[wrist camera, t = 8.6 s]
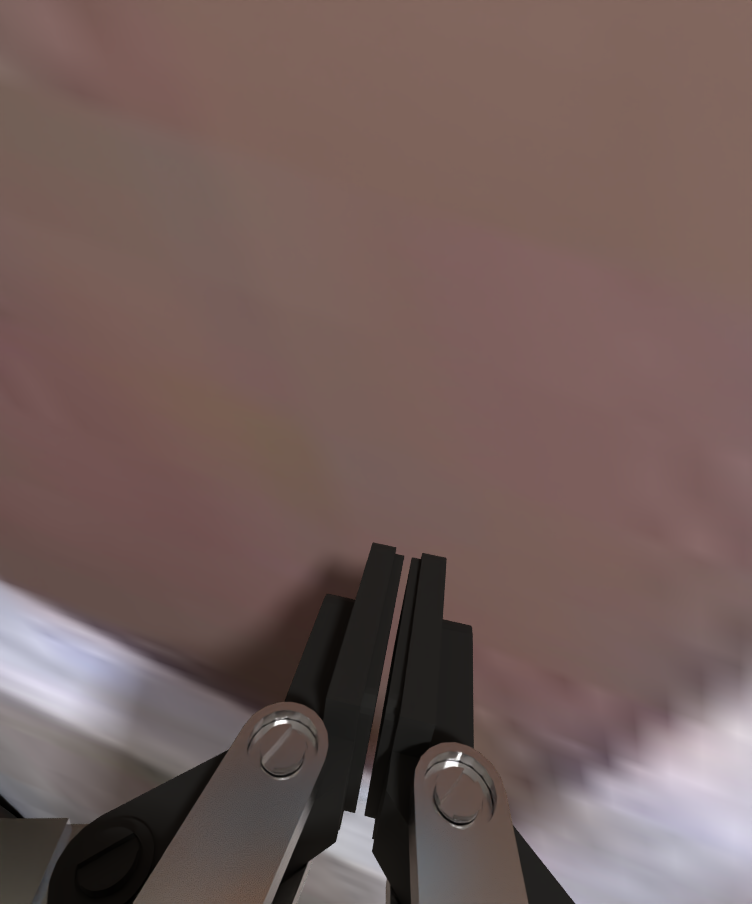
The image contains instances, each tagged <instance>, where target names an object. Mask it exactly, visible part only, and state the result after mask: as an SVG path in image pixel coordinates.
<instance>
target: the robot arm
mask: <svg viewBox="0 0 752 904" xmlns="http://www.w3.org/2000/svg"><path fill="white" fill-rule="evenodd" d="M395 553H396V547H392V546H387V545H382V544H378V543H373V544H372V547H371V550H370V553H369V557H368V560H367V563H366V567H365V570H364V573H363V577H362V580H361V583H360V586H359V590H358V593H357V596H356V600H353V599H349V598H344V597H340V596H336V595H331V594H327V595H326V596H325V598H324V601H323V603H322V606H321V608H320V611H319V614H318V616H317V619H316V621H315V624H314V627H313V629H312V632H311V634H310V637H309V639H308V642H307V645H306V647H305V650H304V652H303V655H302V658H301V660H300V663H299V665H298V668H297V671H296V673H295V676H294V678H293V681H292V684H291V686H290V689H289V691H288V694H287V697H286V699H285V702H278V703H275V704H272V705H269V706H266V707H264V708H262V709H261V710H259V711H258V712H257V713H255V714H254V715H253V716H252V717H251V718H250V719H249V720H248V722H247V723H246V724H245V725H244V726H243V728H242V730H241V731H240V733H239V734H238V736H237V738H236V739H235V741H234V742H233V744H232V746H231V747H230V749H229V750H227V751H225V752H223V753H221V754H219V755H218V756H216V757H214V758H212V759H210V760H208V761H206V762H204V763H202V764H200V765H198V766H196V767H194V768H193V769H191V770H189V771H187V772H185V773H183V774H181V775H179V776H177V777H175V778H173V779H171V780H169V781H167V782H166V783H164V784H162V785H160V786H158V787H156V788H154V789H152V790H150V791H148V792H146V793H144V794H142V795H141V796H139V797H137V798H135V799H133V800H131V801H129V802H127V803H125V804H123V805H121V806H119V807H117V808H116V809H114V810H112V811H110V812H108V813H106V814H104V815H102V816H100V817H99V818H97V819H96V820H94V821H93V822H91V823H90V824H70V820H69V818H15V819H0V904H297V902H298V900H299V897H300V894H301V892H302V889H303V886H304V884H305V881H306V879H307V876H308V873H309V871H310V868H311V865H312V861H313V858H314V857H316V856H317V855H318V854H320V853H321V852H323V851H324V850H325V849H327V848H328V847H329V846H331V845H332V844H334V843H335V842H336V839H337V834H338V830H340V826H341V822H342V817H343V812H344V810H345V811H349V812H352V813H355V811H356V805H357V800H358V795H359V790H360V785H361V779H362V774H363V769H364V764H365V759H366V754H367V748H368V743H369V738H370V733H371V728H372V722H373V717H374V712H375V707H376V702H377V697H378V691H379V686H380V681H381V676H382V671H383V665H384V660H385V655H386V650H387V645H388V639H389V634H390V629H391V624H392V618H393V613H394V608H395V602H396V597H397V592H398V587H399V581H400V576H401V571H402V565H403V560H404V556H403V555H398V554H395ZM445 575H446V558H444V557H439V556H435V555H430V554H425V553H422V557H421V559H417V558H412V559H411V564H410V569H409V574H408V580H407V585H406V590H405V595H404V600H403V605H402V610H401V615H400V620H399V625H398V630H397V635H396V640H395V645H394V650H393V656H392V661H391V667H390V673H389V678H388V684H387V690H386V695H385V701H384V707H383V712H382V718H381V724H380V729H379V735H378V741H377V746H376V752H375V758H374V763H373V769H372V775H371V780H370V786H369V792H368V797H367V803H366V809H365V815H364V816H367V817H371V818H375V824H374V831H373V837H372V839H374V843H373V850H372V852H373V854H374V856H375V858H376V860H377V861H378V863H379V865H380V867H381V869H382V870H383V872H384V874H385V876H386V878H387V881H386V904H575V903H574V902H573V900H572V899H571V898H570V896H569V895H568V894H567V893H566V891H565V890H564V889H563V888H562V886H561V885H560V884H559V883H558V881H557V880H556V879H555V878H554V876H553V875H552V874H551V873H550V871H549V870H548V869H547V867H546V866H545V865H544V864H543V862H542V861H541V860H540V859H539V857H538V856H537V855H536V854H535V852H534V851H533V850H532V849H531V847H530V846H529V845H528V843H527V842H526V841H525V840H524V838H523V837H522V836H521V835H520V833H519V832H518V831H517V830H516V828H515V827H514V826H513V824H512V819H511V814H510V809H509V804H508V800H507V795H506V791H505V788H504V785H503V782H502V779H501V777H500V775H499V774H498V772H497V771H496V769H495V767H494V766H493V764H492V763H491V762H490V761H489V760H488V759H487V758H486V757H484V756H483V755H482V754H481V753H480V752H478V751H476V750H475V749H474V736H473V634H472V627H471V626H470V625H466V624H461V623H457V622H452V621H448V620H443V605H444V590H445Z"/></svg>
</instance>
